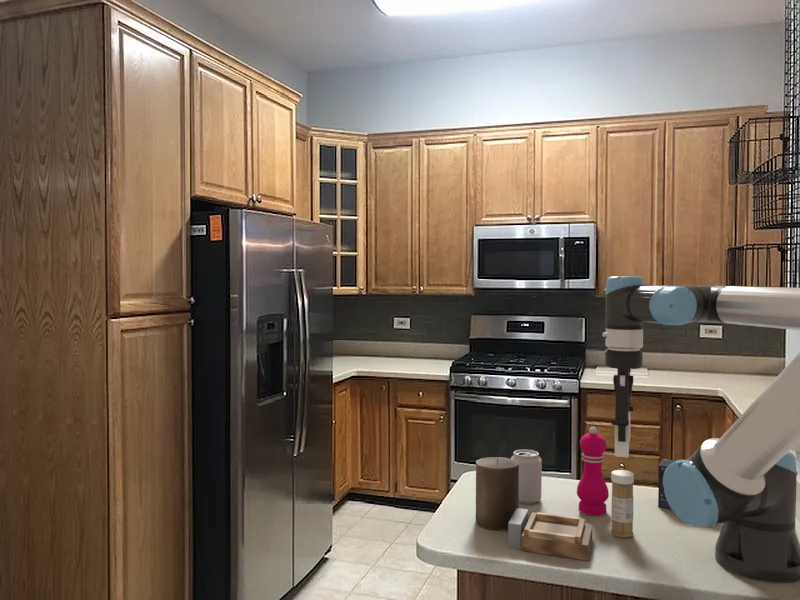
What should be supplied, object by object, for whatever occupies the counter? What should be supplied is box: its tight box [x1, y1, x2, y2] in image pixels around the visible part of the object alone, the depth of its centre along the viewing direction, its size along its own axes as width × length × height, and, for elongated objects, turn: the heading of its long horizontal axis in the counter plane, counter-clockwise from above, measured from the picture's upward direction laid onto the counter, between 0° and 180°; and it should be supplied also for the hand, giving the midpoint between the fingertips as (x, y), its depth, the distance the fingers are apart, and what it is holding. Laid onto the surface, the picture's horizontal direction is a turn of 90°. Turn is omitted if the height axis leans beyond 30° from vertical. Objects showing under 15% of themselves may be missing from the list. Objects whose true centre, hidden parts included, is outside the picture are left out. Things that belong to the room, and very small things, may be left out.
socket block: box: [520, 511, 594, 561], centre depth 131 cm, size 13×11×4 cm
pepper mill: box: [576, 426, 610, 517], centre depth 150 cm, size 7×7×20 cm
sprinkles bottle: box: [610, 469, 635, 539], centre depth 136 cm, size 5×5×14 cm
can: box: [510, 449, 543, 505], centre depth 158 cm, size 8×8×12 cm
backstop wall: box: [507, 507, 529, 550], centre depth 134 cm, size 2×9×5 cm, turn 159°
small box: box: [657, 458, 677, 510], centre depth 152 cm, size 11×6×10 cm, turn 60°
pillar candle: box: [475, 456, 520, 531], centre depth 143 cm, size 10×10×15 cm
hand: (622, 448), depth 136 cm, fingers open, 13 cm apart
